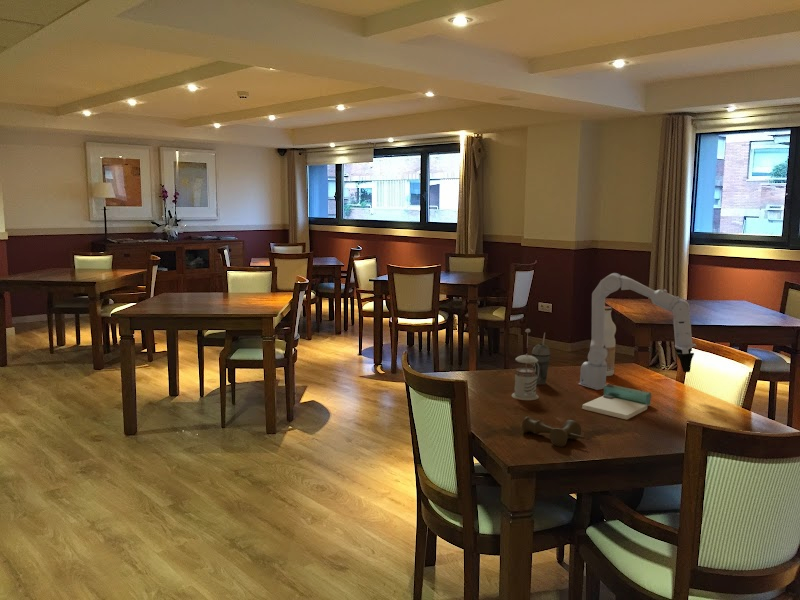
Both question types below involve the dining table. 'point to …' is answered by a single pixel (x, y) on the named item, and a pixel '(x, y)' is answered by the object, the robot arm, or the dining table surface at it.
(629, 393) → the dark green rectangular beam
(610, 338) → the fruit juice
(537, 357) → the beverage cup
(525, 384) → the french press
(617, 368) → the dining table surface
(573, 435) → the kendama
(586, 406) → the stool seat
